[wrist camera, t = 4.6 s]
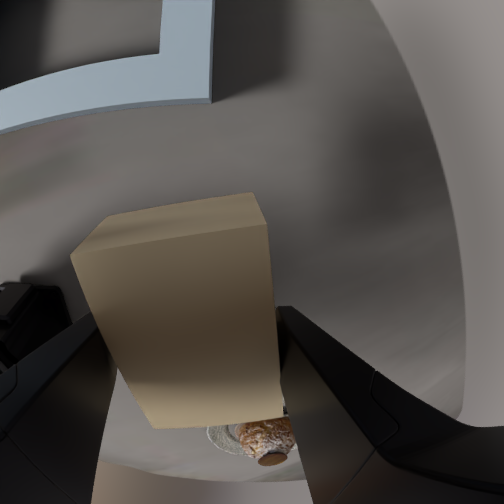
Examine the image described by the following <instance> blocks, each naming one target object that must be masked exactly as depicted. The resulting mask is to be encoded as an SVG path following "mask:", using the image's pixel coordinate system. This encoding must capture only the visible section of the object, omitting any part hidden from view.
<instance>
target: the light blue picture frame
mask: <svg viewBox="0 0 504 504" xmlns="http://www.w3.org/2000/svg"><path fill="white" fill-rule="evenodd" d="M214 16H215V0H163V7H162V19H161V33H160V51H159V54H153V55H144V56H136V57H129V58H122V59H116V60H110V61H104V62H99V63H94V64H89V65H84V66H80V67H75V68H71V69H67V70H63V71H59V72H56V73H52V74H48V75H45V76H41V77H38V78H35V79H32V80H29V81H25V82H22V83H20V84H17V85H14V86H11V87H8V88H6V89H3V90H0V135H1V134H4V133H8V132H11V131H15V130H18V129H22V128H26V127H30V126H34V125H38V124H43V123H47V122H52V121H56V120H61V119H66V118H71V117H77V116H82V115H88V114H95V113H101V112H108V111H116V110H124V109H132V108H142V107H153V106H166V105H183V104H212V64H213V37H214Z"/></svg>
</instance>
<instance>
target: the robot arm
mask: <svg viewBox="0 0 504 504" xmlns="http://www.w3.org/2000/svg"><path fill="white" fill-rule="evenodd" d="M54 293H56V295H55V294H54ZM275 316H276V328H277V339H278V352H279V364H280V381H279V382H280V386H281V391H282V394H283V398H284V401H285V405H286V409H287V412H288V416H289V419H290V423H291V426H292V430H293V434H294V437H295V441H296V444H297V448H298V451H299V455H300V458H301V462H302V465H303V469H304V472H305V476H306V479H307V483H308V486H309V489H310V493H311V497H312V500H313V504H504V426H497V427H474V426H470V425H466V424H463V423H461V422H459V421H457V420H455V419H453V418H451V417H450V416H448V415H446V414H444V413H443V412H441V411H439V410H437V409H436V408H434V407H432V406H430V405H429V404H427V403H425V402H423V401H422V400H420V399H418V398H417V397H415V396H414V395H412V394H410V393H409V392H407V391H405V390H404V389H402V388H401V387H399V386H398V385H397V384H395V383H394V382H392V381H391V380H389V379H388V378H387V377H385V376H384V375H383V374H381V373H380V372H378V371H375V369H374V368H373V367H372V366H370V365H369V364H368V363H366V362H365V361H364V360H362V359H361V358H360V357H358V356H357V355H356V354H354V353H353V352H352V351H350V350H349V349H348V348H346V347H345V346H344V345H342V344H341V343H340V342H338V341H337V340H336V339H334V338H333V337H332V336H330V335H329V334H328V333H326V332H325V331H324V330H322V329H321V328H320V327H318V326H317V325H316V324H315V323H313V322H312V321H311V320H309V319H308V318H307V317H305V316H304V315H303V314H301V313H300V312H299V311H298V310H296V309H295V308H294V307H292V306H278V307H277V308H276V311H275ZM116 375H117V365H116V363H115V361H114V359H113V357H112V355H111V353H110V351H109V349H108V347H107V345H106V343H105V341H104V339H103V336H102V334H101V332H100V329H99V328H98V326H97V323H96V321H95V319H94V317H93V314H92V312H90V313H89V314H87V315H86V316H84V317H83V318H81V319H80V320H78V321H77V322H75V323H74V324H72V322H71V319H70V316H69V313H68V310H67V307H66V304H65V301H64V298H63V294H62V292H61V290H60V289H59V288H58V287H56V286H35V285H32V284H14V283H9V284H8V285H5V284H1V285H0V504H91V499H92V492H93V486H94V479H95V474H96V468H97V462H98V457H99V452H100V447H101V442H102V437H103V432H104V428H105V423H106V419H107V414H108V410H109V406H110V402H111V398H112V394H113V390H114V385H115V381H116Z"/></svg>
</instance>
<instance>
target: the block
mask: <svg viewBox="0 0 504 504" xmlns="http://www.w3.org/2000/svg"><path fill="white" fill-rule="evenodd" d="M70 258H71V261H72V263H73V266H74V269H75V272H76V275H77V277H78V280H79V282H80V285H81V288H82V290H83V293H84V295H85V298H86V300H87V303H88V305H89V307H90V310H91V312H92V314H93V317H94V319H95V321H96V323H97V326H98V328H99V329H100V332H101V334H102V336H103V339H104V341H105V343H106V345H107V347H108V349H109V351H110V353H111V355H112V357H113V359H114V361H115V363H116V365H117V367H118V369H119V370H120V372H121V374H122V376H123V378H124V380H125V382H126V383H127V385H128V387H129V389H130V390H131V392H132V394H133V396H134V397H135V399H136V401H137V402H138V404H139V406H140V407H141V409H142V411H143V412H144V414H145V416H146V417H147V419H148V420H149V422H150V424H151V425H152V427H153V428H154V429H175V428H195V427H208V426H220V425H230V424H238V423H246V422H254V421H261V420H267V419H274V418H279V417H283V403H282V391H281V386H280V382H279V381H280V364H279V352H278V339H277V328H276V316H275V304H274V293H273V282H272V271H271V261H270V250H269V240H268V230H267V223H266V221H265V218H264V216H263V214H262V212H261V210H260V207H259V205H258V203H257V201H256V198H255V196H254V194H253V192H249V193H241V194H234V195H227V196H220V197H213V198H207V199H200V200H194V201H188V202H182V203H176V204H170V205H164V206H158V207H153V208H147V209H142V210H136V211H131V212H126V213H121V214H116V215H111V216H107V217H106V218H105V219H104V220H103V221H102V222H101V223H100V224H99V225H98V226H97V227H96V228H95V229H94V230H93V231H92V232H91V233H90V234H89V235H88V236H87V237H86V238H85V239H84V240H83V241H82V242H81V243H80V244H79V246H78V247H77V248H76V249H75V250H74V251H73V252H72V253H71V254H70Z"/></svg>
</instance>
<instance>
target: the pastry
mask: <svg viewBox="0 0 504 504" xmlns="http://www.w3.org/2000/svg"><path fill="white" fill-rule="evenodd" d="M282 403H285V401H284V398H283V394H282ZM235 434H236V436H237V437H238V438H239V440H237V439H236V438H234V437H233V436H232V435H231V434H230V432H229V430H228V425H220V426H208V427H207V435H208V437H209V439H210V441H211V442H212V443H213V444H215V446H216V447H218V448H219V449H221V450H223V451H226V452H228V453H231V454H236V455H244V456H250V457H252V458H256V459H257V458H260V457H261V458H260V459H259V460H258V463H259V464H260V465H263V466H272V465H277V464H280V463H282V462H284V461H285V460H286V459H287V454H288V453H289V452H290V451H292V450H294V449H296V448H297V444H296V441H295V437H294V434H293V430H292V426H291V423H290V419H289V416H288V414H283V417H279V418H274V419H267V420H261V421H254V422H246V423H238V424H237V426H236V428H235Z"/></svg>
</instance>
